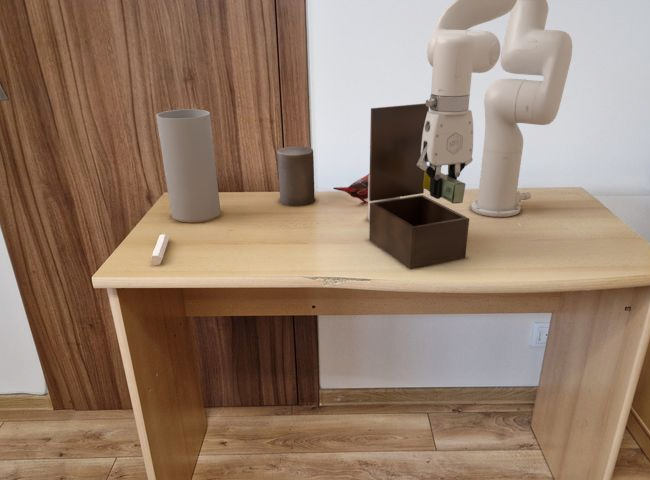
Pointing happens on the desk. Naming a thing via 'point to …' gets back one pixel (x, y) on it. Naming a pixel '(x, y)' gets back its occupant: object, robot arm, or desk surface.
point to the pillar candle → (296, 176)
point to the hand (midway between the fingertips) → (442, 195)
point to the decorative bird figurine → (357, 189)
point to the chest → (418, 231)
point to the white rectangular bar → (159, 249)
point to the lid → (396, 151)
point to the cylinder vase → (189, 164)
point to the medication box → (448, 188)
